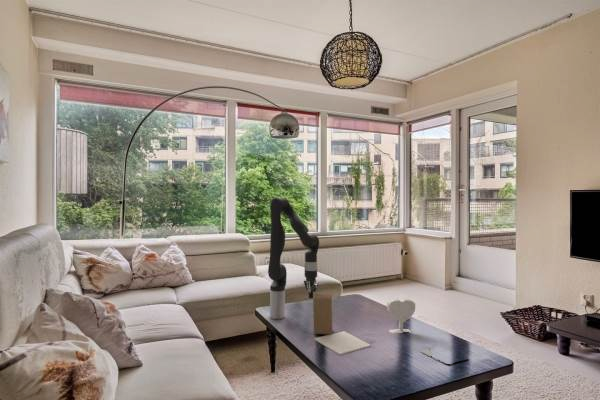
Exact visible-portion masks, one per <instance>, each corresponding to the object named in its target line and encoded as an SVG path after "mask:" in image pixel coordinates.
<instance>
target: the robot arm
mask: <svg viewBox="0 0 600 400" xmlns="http://www.w3.org/2000/svg"><path fill="white" fill-rule="evenodd" d="M269 209H270V210H269V211H270V213H269V214H270V240H269V241H270V245H269V246H270V247H269V263H268V267H267V268H268V269H267V273H268V274H267V275H268V277H269V278H270V280H272V282H271V284H270V286H269V287H270V288H269V289H270V291H269V292H270V295H269V297H270V298H269V299H270V300H269V317H270V319H272V320H273V319H274V320H282V319H284V318H286V317H285V316H286V312H285V311H286V286H287V275H288V274H287V273H288V272H287V267H286V266H285V265H284V264H282V263H281V257H282V253H283V251H284V248H285V244H286V231H285V229H284V226H283V224H282V220H281V218H282V217H281V216H282V213H283V215H285V216H286V217H287V218H288V220H289V224H290V226H291V228H292V229H293V231H294V232H295V233H296V234H297V236H298V238H299V240H300V241H301V244H302V245H303V246H304V247H305V248H308V249H307V251H305V253H304V278H305V280H303V284H304V286H305V290H306V291H307V292H308V298H309V299H313V298H314V292H316V291H317V289H318V288H319V283H317V280H316V278H317V277H318V252H319V246H320V240H319V237H318V236H317V235H315V234H311V235H309V228H308V227H307V226H306V224H304V222H303V221H302V220H301V219H300V217H299V216H298V214H297V213H296V212H295V210H294V208H293V206H292V205H291V203H290V202H289V200H288V199H287V198H284V197H273V198H272V199H271V200H270V203H269Z"/></svg>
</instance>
